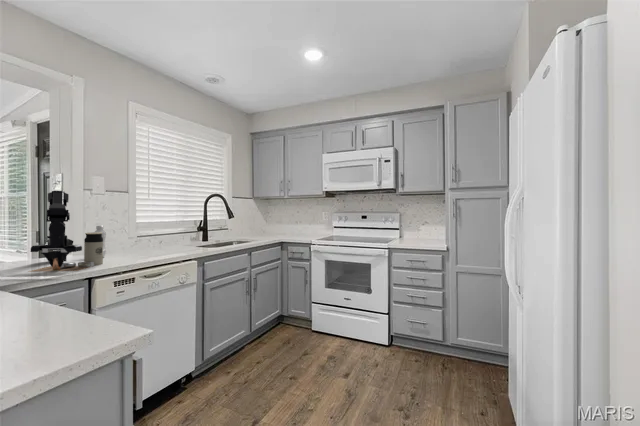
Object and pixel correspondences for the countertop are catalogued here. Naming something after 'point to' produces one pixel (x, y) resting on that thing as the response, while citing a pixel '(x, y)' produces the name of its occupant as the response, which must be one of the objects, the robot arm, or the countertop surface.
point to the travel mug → (93, 248)
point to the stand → (80, 267)
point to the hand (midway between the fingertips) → (56, 266)
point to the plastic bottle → (100, 229)
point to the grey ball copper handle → (64, 265)
